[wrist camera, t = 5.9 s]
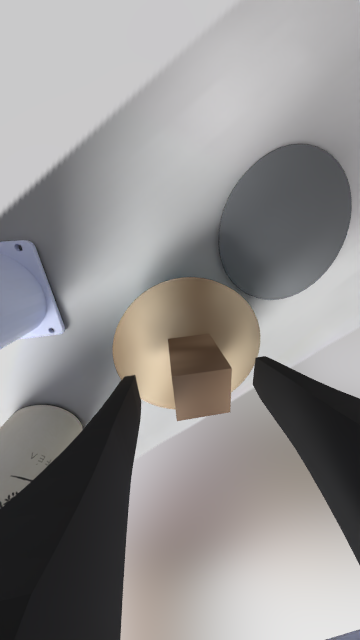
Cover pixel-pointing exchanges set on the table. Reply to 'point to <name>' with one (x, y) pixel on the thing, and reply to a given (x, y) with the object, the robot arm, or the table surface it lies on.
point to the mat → (285, 222)
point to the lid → (187, 345)
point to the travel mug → (32, 445)
